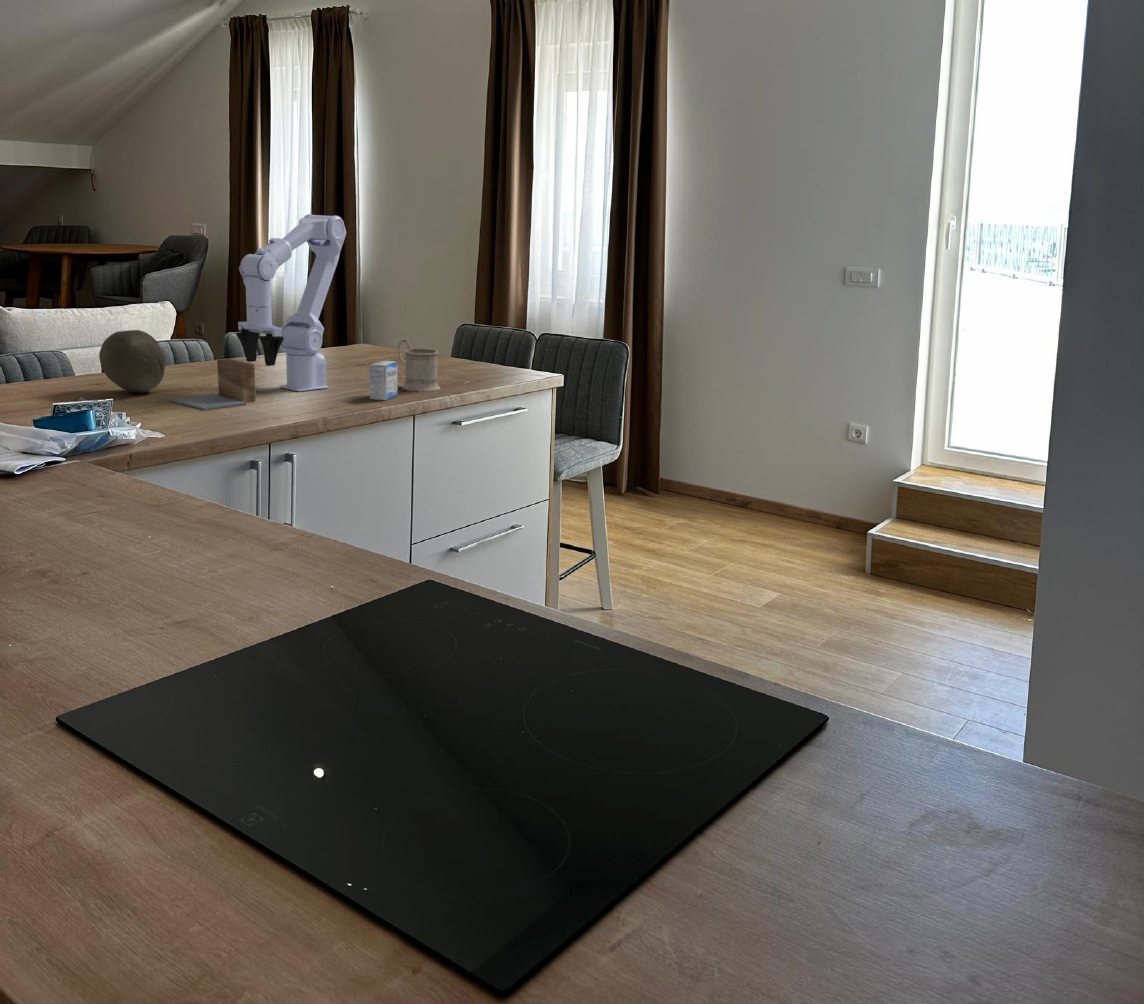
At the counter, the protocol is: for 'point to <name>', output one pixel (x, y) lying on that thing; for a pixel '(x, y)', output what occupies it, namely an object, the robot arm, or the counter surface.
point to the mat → (208, 401)
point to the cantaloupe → (133, 360)
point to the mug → (420, 369)
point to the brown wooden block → (236, 380)
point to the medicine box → (383, 380)
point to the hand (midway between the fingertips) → (260, 363)
